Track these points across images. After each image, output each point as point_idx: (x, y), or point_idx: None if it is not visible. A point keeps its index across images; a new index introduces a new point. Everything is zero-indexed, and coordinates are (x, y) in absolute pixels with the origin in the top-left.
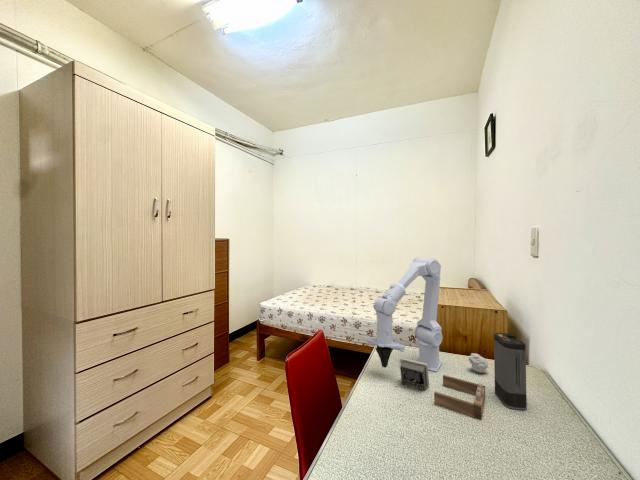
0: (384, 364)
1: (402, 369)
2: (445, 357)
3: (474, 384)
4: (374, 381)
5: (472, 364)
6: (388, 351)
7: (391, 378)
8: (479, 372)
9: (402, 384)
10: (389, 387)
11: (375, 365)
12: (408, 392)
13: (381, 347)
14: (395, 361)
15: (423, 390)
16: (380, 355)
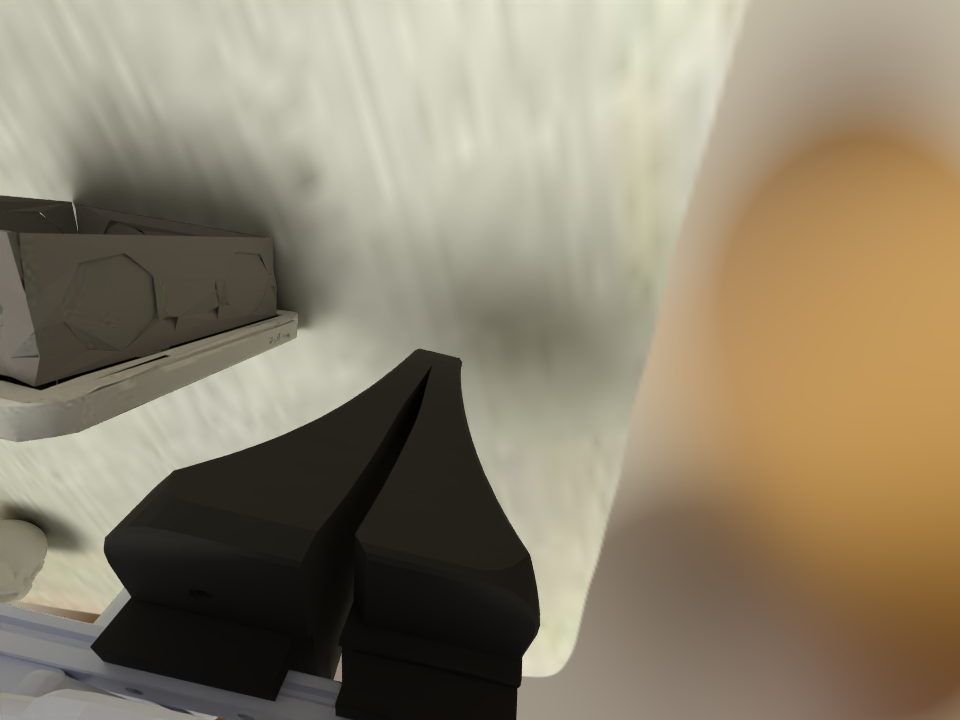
0: (412, 365)
1: (163, 315)
2: None
3: None
4: (541, 183)
5: (2, 560)
6: (122, 524)
7: (394, 314)
8: (12, 519)
9: (271, 241)
10: (354, 115)
11: (572, 471)
12: (154, 98)
13: (389, 659)
14: None
15: (85, 209)
16: (439, 459)
